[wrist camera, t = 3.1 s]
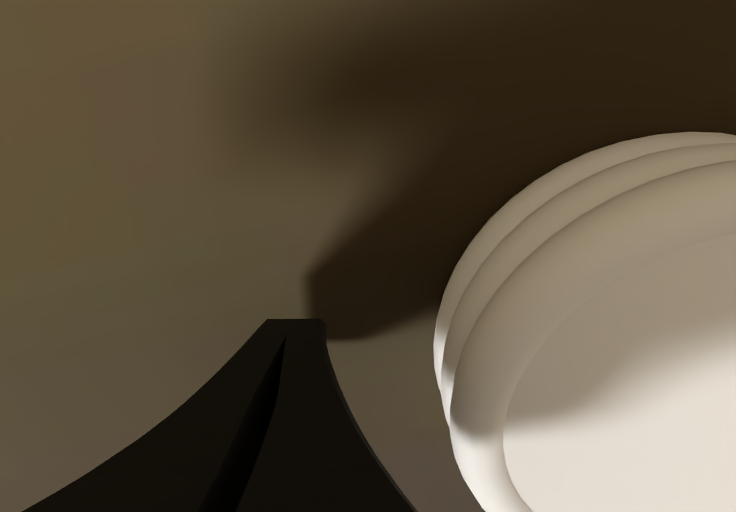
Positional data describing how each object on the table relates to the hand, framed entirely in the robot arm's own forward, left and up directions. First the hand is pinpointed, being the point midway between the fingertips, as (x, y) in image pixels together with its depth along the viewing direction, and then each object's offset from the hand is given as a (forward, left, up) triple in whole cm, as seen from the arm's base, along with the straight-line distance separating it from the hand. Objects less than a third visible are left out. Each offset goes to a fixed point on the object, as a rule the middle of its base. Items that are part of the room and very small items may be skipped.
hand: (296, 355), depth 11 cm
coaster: (0, -8, -2) cm, 8 cm away
